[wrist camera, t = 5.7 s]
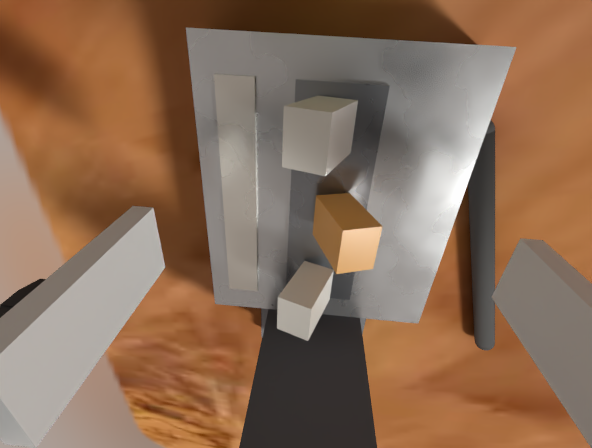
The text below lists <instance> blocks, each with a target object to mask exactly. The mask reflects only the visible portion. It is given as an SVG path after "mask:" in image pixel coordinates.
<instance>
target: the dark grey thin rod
mask: <svg viewBox="0 0 592 448" xmlns="http://www.w3.org/2000/svg"><path fill="white" fill-rule="evenodd" d="M468 197H469V220H470V244H471V267H472V291H473V314H474V337H475V343H476V345H477V346H478V347H479V348H480V349H482V350H490V349H492V348H493V347H494V344H495V302H494V300H493V299H492V295H493V293H494V291H495V126H494V124H493V122H492V121H491V120H490V123H489V126H488V128H487V131H486V134H485V137H484V140H483V142H482V145H481V148H480V151H479V154H478V157H477V159H476V162H475V165H474V168H473V171H472V173H471V176H470V179H469V182H468Z"/></svg>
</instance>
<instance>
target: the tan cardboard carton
mask: <svg viewBox="0 0 592 448" xmlns="http://www.w3.org/2000/svg"><path fill="white" fill-rule="evenodd" d="M382 227H383V226H382V225H381V224H380V223H379V222H378V221H377V220H376V219H375V218H374V217H373V216H372V215H371V214H370V213H369V212H368V211H367V210H366V209H365V208H364V207H363V206H362V205H361V204H360V203H359V202H358V201H357V200H356V199H355V198H354V197H353V196H352V195H351V194H350V193H343V194H328V195H316V202H315V212H314V223H313V236H314V237H315V239H316V241H317V242H318V244H319V246H320V248H321V249H322V251H323V253H324V254H325V256H326V258H327V259H328V261H329V263H330V264H331V266H332V268H333V269H334V271H335V273H336V274H341V273H348V272H355V271H362V270H369V269H373V267H374V263H375V258H376V254H377V249H378V245H379V240H380V236H381V232H382Z"/></svg>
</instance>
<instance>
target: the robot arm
mask: <svg viewBox="0 0 592 448" xmlns="http://www.w3.org/2000/svg"><path fill="white" fill-rule="evenodd" d="M164 268H165V263H164V258H163V253H162V248H161V243H160V238H159V233H158V228H157V223H156V218H155V213H154V208H152V207H140V206H132V207H131V208H130V209H129V210H128V211H126V212H125V213H124V214H123V215H122V216H120V217H119V218H118V219H117V220H116V221H115V222H113V223H112V224H111V225H110V226H109V227H107V228H106V229H105V230H104V231H103V232H101V233H100V234H99V235H98V236H97V237H96V238H94V239H93V240H92V241H91V242H90V243H88V244H87V245H86V246H85V247H84V248H83V249H81V250H80V251H79V252H78V253H77V254H75V255H74V256H73V257H72V258H71V259H70V260H68V261H67V262H66V263H65V264H64V265H62V266H61V267H60V268H59V269H58V270H56V271H55V272H54V273H53V274H52V275H51V276H49V277H48V278H47V279H39V280H37V281H35V282H33V283H31V284H30V285H28V286H26V287H24V288H22V289H20V290H18V291H17V292H16V293H14V294H13V295H12V296H11V297H9V298H8V299H7V300H6V301H5V302H3V303H2V304H1V305H0V440H1V441H2V442H3V443H4V444H7V445H16V446H24V447H33V448H37V446H38V445H39V444H40V442H41V441H42V439H43V438H44V437H45V435H46V434H47V432H48V431H49V430H50V428H51V427H52V425H53V424H54V423H55V421H56V420H57V418H58V417H59V415H60V414H61V413H62V411H63V410H64V409H65V407H66V406H67V404H68V403H69V401H70V400H71V399H72V397H73V396H74V394H75V393H76V392H77V390H78V389H79V388H80V386H81V385H82V383H83V382H84V381H85V379H86V378H87V376H88V375H89V374H90V372H91V371H92V369H93V368H94V366H95V365H96V364H97V362H98V361H99V359H100V358H101V357H102V355H103V354H104V353H105V351H106V350H107V348H108V347H109V346H110V344H111V343H112V341H113V340H114V339H115V337H116V336H117V334H118V333H119V331H120V330H121V329H122V327H123V326H124V324H125V323H126V322H127V320H128V319H129V317H130V316H131V315H132V313H133V312H134V310H135V309H136V308H137V306H138V305H139V303H140V302H141V301H142V299H143V298H144V296H145V295H146V294H147V292H148V291H149V289H150V288H151V287H152V285H153V284H154V282H155V281H156V280H157V278H158V277H159V275H160V274H161V273H162V271H163V270H164ZM492 299H493V300H494V302H495V303H496V305H497V306H498V308H499V309H500V311H501V312H502V314H503V316H504V317H505V319H506V320H507V322H508V323H509V325H510V326H511V328H512V329H513V331H514V332H515V334H516V335H517V337H518V338H519V340H520V341H521V343H522V344H523V346H524V347H525V349H526V350H527V352H528V353H529V355H530V356H531V358H532V359H533V361H534V362H535V364H536V365H537V367H538V368H539V370H540V371H541V373H542V374H543V376H544V377H545V379H546V380H547V382H548V383H549V385H550V386H551V388H552V389H553V391H554V392H555V394H556V395H557V397H558V399H559V400H560V402H561V403H562V405H563V406H564V408H565V409H566V411H567V412H568V414H569V415H570V417H571V418H572V420H573V421H574V423H575V424H576V426H577V427H578V429H579V430H580V432H581V433H582V435H583V436H584V438H585V439H586V441H587V442H588V444H589V445H590V447H591V448H592V284H591V283H590V282H589V281H588V280H587V279H586V278H585V277H583V276H582V275H581V274H580V273H579V272H578V271H577V270H576V269H574V268H573V267H572V266H571V265H570V264H569V263H568V262H567V261H566V260H564V259H563V258H562V257H561V256H560V255H559V254H558V253H557V252H555V251H554V250H553V249H552V248H551V247H550V246H549V245H548V244H547V243H545V242H544V241H543V240H533V239H521V238H520V240H519V242H518V244H517V246H516V248H515V250H514V252H513V254H512V257H511V259H510V261H509V263H508V265H507V267H506V269H505V271H504V273H503V275H502V277H501V279H500V281H499V283H498V285H497V287H496V289H495V291H494V293H493V295H492Z"/></svg>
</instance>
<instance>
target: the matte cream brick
mask: <svg viewBox="0 0 592 448" xmlns="http://www.w3.org/2000/svg"><path fill="white" fill-rule="evenodd" d="M333 272H334V270H332V269H329V268H326V267H323V266H320V265H317V264H313V263H310V262H307V261H304V262H303V263H302V265H301V266H300V268H299V269H298V270H297V272H296V273H295V274H294V276H293V277H292V278H291V280H290V281H289V282H288V284H287V285H286V287H285V288H284V289H283V291H282V292H281V293H280V295H279V296H278V308H277V329H280V330H282V331H284V332H287V333H289V334H292V335H294V336H297V337H299V338H302V339H304V340H307V341H308V340H309V338H310V336H311V334H312V332H313V331H314V329H315V327H316V325H317V323H318V321H319V319H320V317H321V315H322V313H323V311H324V309H325V307H326V305H327V304H328V302H329V300H330V293H331V286H332V279H333Z"/></svg>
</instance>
